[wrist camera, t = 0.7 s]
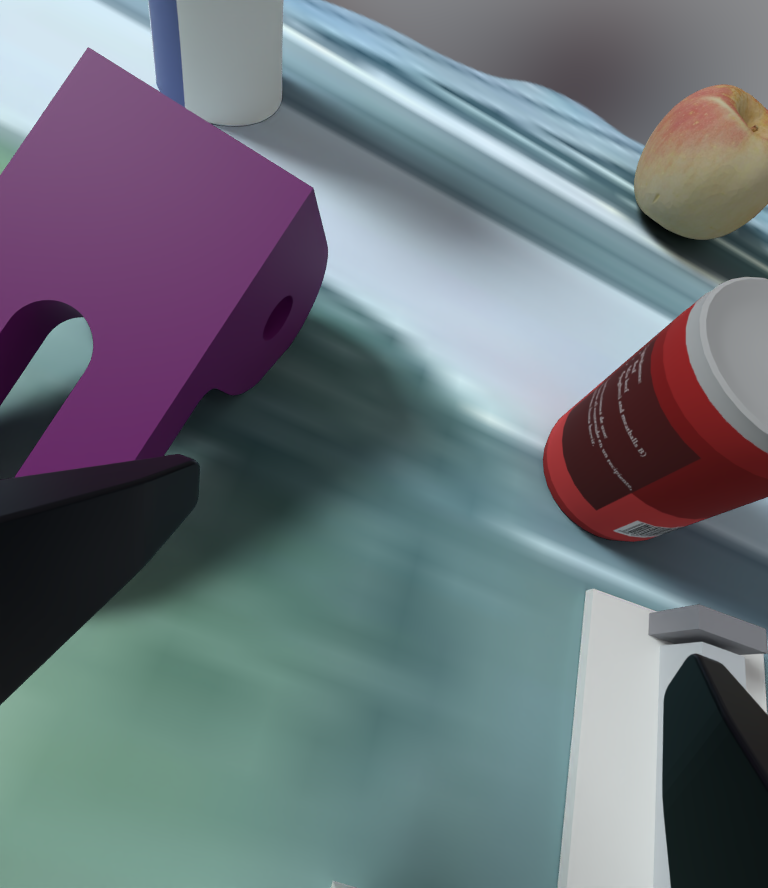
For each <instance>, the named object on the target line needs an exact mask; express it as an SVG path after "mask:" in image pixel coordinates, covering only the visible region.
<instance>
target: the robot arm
mask: <svg viewBox="0 0 768 888" xmlns="http://www.w3.org/2000/svg"><path fill="white" fill-rule="evenodd" d="M199 474H200V466H199V464H198V462H197V461H196V460H194V459H191V458H188V457H186V456H183V455H180V454H175V455H168V456H161V457H154V458H147V459H140V460H133V461H126V462H119V463H112V464H105V465H99V466H92V467H85V468H78V469H71V470H64V471H57V472H50V473H43V474H36V475H29V476H22V477H15V478H8V479H1V480H0V705H1V704H2V703H3V702H4V701H5V700H6V699H7V698H8V697H9V696H10V695H11V694H12V693H13V692H14V691H15V690H16V689H17V688H19V687H20V686H21V685H22V684H23V683H24V682H25V681H26V680H27V679H28V678H29V677H30V676H31V675H32V674H33V673H34V672H35V671H36V670H37V669H38V668H39V667H40V666H41V665H42V664H44V663H45V662H46V661H47V660H48V659H49V658H50V657H51V656H52V655H53V654H54V653H55V652H56V651H57V650H58V649H59V648H60V647H61V646H62V645H63V644H64V643H65V642H66V641H67V640H69V639H70V638H71V637H72V636H73V635H74V634H75V633H76V632H77V631H78V630H79V629H80V628H81V627H82V626H83V625H84V624H85V623H86V622H87V621H88V620H89V619H90V618H91V617H92V616H94V615H95V614H96V613H97V612H98V611H99V610H100V609H101V608H102V607H103V606H104V605H105V604H106V603H107V602H108V601H109V600H110V599H111V598H112V597H113V596H114V595H115V594H116V593H117V592H119V591H120V590H121V589H122V588H123V587H124V586H125V585H126V584H127V583H128V582H129V581H130V580H131V579H132V578H133V577H134V576H135V575H136V574H137V573H138V572H139V571H140V570H141V569H142V568H143V567H144V566H145V565H146V564H147V563H148V562H149V561H150V559H151V558H152V557H153V556H154V555H155V554H156V553H157V551H158V550H159V549H160V548H161V547H162V545H163V544H164V543H165V542H166V541H167V540H168V538H169V537H170V536H171V535H172V534H173V532H174V531H175V530H176V529H177V528H178V527H179V525H180V524H181V523H182V522H183V521H184V519H185V518H186V517H187V516H188V515H189V514H190V512H191V511H192V510H193V509H194V507H195V505H196V503H197V500H198V494H199ZM662 800H663V813H664V824H665V834H666V844H667V854H668V865H669V875H670V885H671V888H768V715H767V714H766V712H765V711H764V710H763V709H762V708H761V707H760V706H759V704H758V703H757V702H756V701H755V700H754V699H753V698H752V697H751V695H750V694H749V693H748V692H747V691H746V690H745V689H744V687H743V686H742V685H741V684H740V683H739V682H738V681H737V680H736V678H735V677H734V676H733V675H732V674H731V673H730V672H729V670H728V669H727V668H726V667H725V666H724V665H723V664H722V663H720V662H718V661H715V660H713V659H710V658H708V657H705V656H702V655H700V654H697V653H695V654H691V655H689V656H688V657H687V658H686V660H685V661H684V663H683V664H682V666H681V667H680V669H679V670H678V672H677V673H676V674H675V676H674V677H673V679H672V680H671V682H670V683H669V685H668V687H667V689H666V691H665V695H664V702H663V758H662Z"/></svg>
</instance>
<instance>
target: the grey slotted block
mask: <svg viewBox="0 0 768 888" xmlns="http://www.w3.org/2000/svg"><path fill="white" fill-rule="evenodd" d="M331 888H356V887H353V886H349V885H346V884H342V883H339V882H336V881H332V885H331Z"/></svg>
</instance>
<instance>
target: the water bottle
mask: <svg viewBox="0 0 768 888" xmlns="http://www.w3.org/2000/svg"><path fill="white" fill-rule="evenodd" d="M148 6H149V15H150V25H151V35H152V46H153V57H154V68H155V79H156V83H157V86H158V88H159V90H160V92H161V93H162V94H164V95H166V96H167V97H169V98H170V99H172V100H173V101H175V102H177V103H178V104H180V105H181V106H183V107H185V108H186V109H188V110H189V111H191V112H193V113H194V114H196V115H197V116H199V117H201V118H202V119H204V120H205V121H207V122H209V123H212V124H217V125H225V126H243V125H250V124H254V123H258V122H261V121H263V120H265V119H267V118H269V117H270V116H272V115H273V114H274V113H275V112H276V111H277V109H278V108H279V106H280V104H281V101H282V30H283V0H148Z"/></svg>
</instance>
